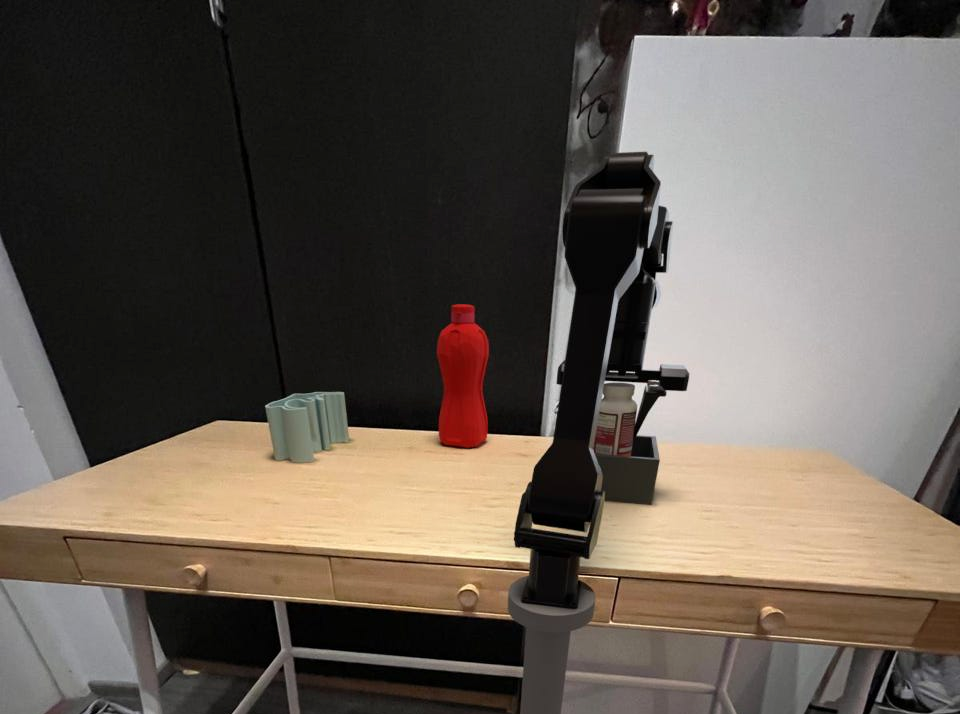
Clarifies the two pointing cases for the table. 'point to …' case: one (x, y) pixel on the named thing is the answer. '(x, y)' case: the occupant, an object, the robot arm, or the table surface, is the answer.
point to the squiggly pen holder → (306, 424)
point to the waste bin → (631, 472)
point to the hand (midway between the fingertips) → (613, 435)
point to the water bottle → (463, 379)
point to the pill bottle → (616, 420)
